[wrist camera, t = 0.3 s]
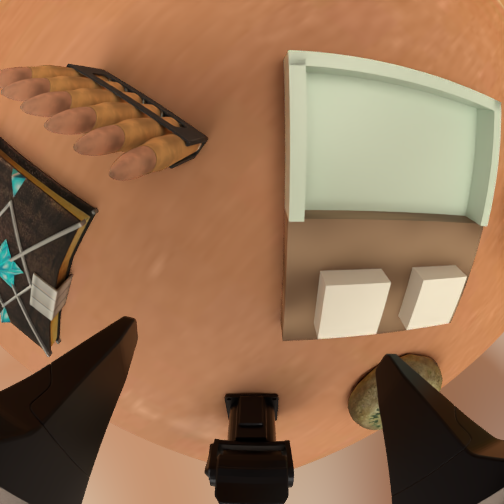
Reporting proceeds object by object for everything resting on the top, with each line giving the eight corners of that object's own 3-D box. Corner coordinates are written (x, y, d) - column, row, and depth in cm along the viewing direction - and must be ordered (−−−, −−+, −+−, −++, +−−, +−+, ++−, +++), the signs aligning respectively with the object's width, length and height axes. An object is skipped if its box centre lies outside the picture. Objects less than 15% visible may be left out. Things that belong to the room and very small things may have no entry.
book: (-3, 128, 17) (-36, 137, 13) (104, 205, 21) (73, 228, 17) (-19, 273, 25) (-40, 291, 21) (62, 341, 29) (45, 367, 25)
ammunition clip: (209, 138, 19) (147, 166, 8) (193, 158, 19) (120, 212, 8) (102, 69, 16) (-14, 55, 5) (90, 89, 16) (-28, 91, 6)
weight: (335, 377, 30) (343, 411, 26) (435, 332, 27) (453, 361, 23) (355, 419, 36) (361, 445, 31) (433, 385, 33) (444, 409, 28)
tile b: (439, 310, 22) (448, 323, 20) (398, 315, 22) (406, 330, 21) (455, 265, 20) (467, 276, 18) (412, 267, 20) (423, 280, 18)
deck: (440, 308, 25) (450, 322, 23) (280, 322, 26) (282, 340, 23) (468, 214, 20) (483, 224, 18) (284, 207, 21) (288, 219, 19)
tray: (468, 214, 20) (487, 226, 18) (284, 207, 21) (289, 221, 18) (479, 100, 15) (501, 102, 13) (283, 59, 16) (288, 50, 13)
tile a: (369, 318, 22) (376, 333, 21) (313, 322, 22) (317, 339, 21) (381, 268, 20) (391, 282, 18) (320, 270, 20) (325, 285, 18)
